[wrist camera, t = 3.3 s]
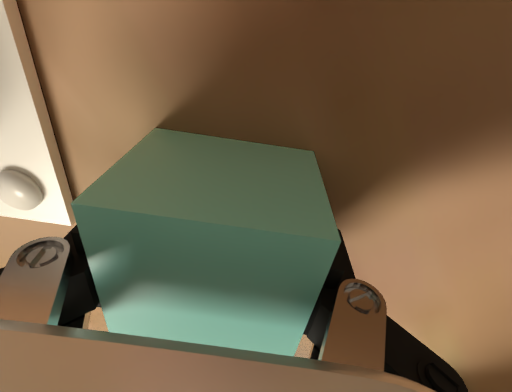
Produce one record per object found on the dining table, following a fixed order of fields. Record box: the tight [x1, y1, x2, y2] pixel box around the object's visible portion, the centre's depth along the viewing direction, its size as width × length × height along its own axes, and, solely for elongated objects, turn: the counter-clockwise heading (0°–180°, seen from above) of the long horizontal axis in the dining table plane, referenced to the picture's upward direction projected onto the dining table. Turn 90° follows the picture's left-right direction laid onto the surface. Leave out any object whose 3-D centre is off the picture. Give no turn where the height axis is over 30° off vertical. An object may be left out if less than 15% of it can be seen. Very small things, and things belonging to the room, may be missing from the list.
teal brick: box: [71, 128, 341, 356], centre depth 10 cm, size 6×6×5 cm
